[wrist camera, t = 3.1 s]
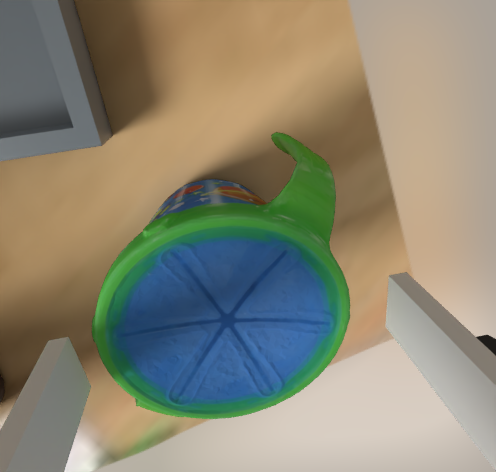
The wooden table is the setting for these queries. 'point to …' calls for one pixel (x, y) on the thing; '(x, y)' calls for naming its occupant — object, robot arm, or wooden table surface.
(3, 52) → the tray
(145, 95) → the wooden table surface
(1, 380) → the bottle
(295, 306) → the snack cup
